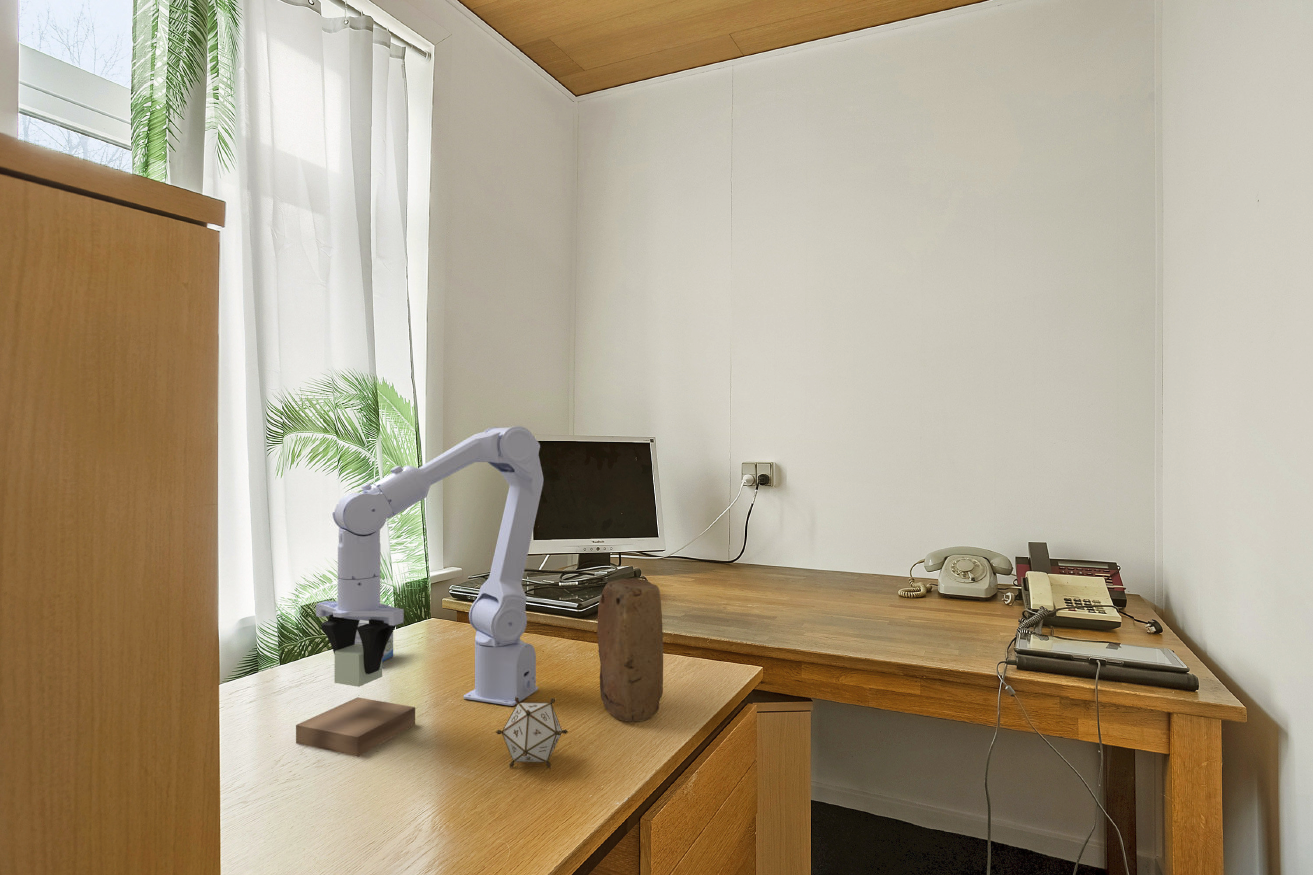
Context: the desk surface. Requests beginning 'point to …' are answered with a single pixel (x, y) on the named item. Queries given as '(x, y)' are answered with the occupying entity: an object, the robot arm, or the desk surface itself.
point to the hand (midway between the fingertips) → (358, 669)
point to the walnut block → (355, 726)
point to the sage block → (353, 667)
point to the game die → (532, 732)
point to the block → (630, 648)
